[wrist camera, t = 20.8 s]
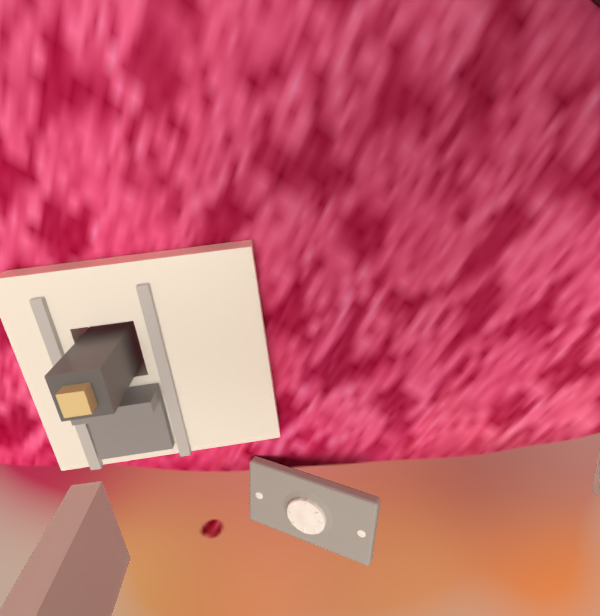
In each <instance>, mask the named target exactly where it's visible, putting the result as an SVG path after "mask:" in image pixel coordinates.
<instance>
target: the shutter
mask: <svg viewBox="0 0 600 616" xmlns="http://www.w3.org/2000/svg"><path fill="white" fill-rule="evenodd" d="M70 421H71V423H72V426H74V425H80V424H87V423H88V425H89V428H90V431H91V434H92V437H93V440H94V442H95V445H96V448H97V451H98V454H99V457H100V460H102V459H108V458H115V457H121V456H128V455H135V454H141V453H148V452H154V451H161V450H167V449H173V447H174V440H173V436H172V432H171V428H170V425H169V421H168V417H167V413H166V410H165V406H164V402H163V398H162V395H161V391H160V387H159V383H155V384H148V385H141V386H134V387H129V388H128V389H127V391H126V393H125V395H124V397H123V399H122V401H121V403H120V405H119V406H118V408H117V410H116V412H115V414H110V415H103V416H97V417H90V418H83V419H76V420H70Z"/></svg>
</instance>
